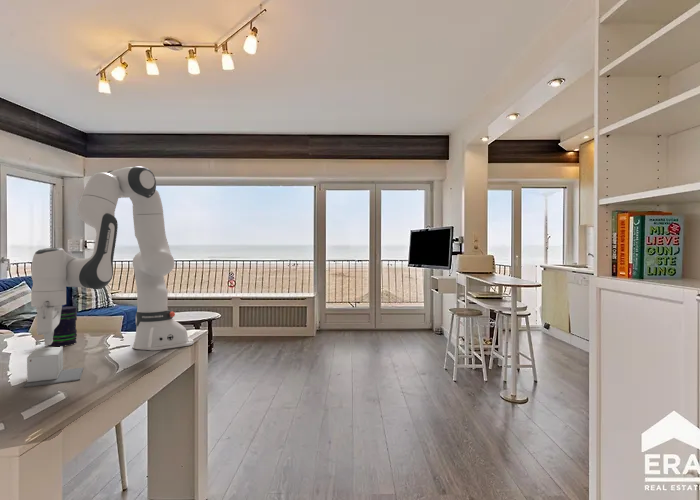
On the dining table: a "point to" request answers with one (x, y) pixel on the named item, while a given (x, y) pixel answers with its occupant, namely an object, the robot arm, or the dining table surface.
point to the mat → (60, 378)
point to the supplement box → (44, 364)
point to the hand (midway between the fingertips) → (48, 344)
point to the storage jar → (66, 327)
